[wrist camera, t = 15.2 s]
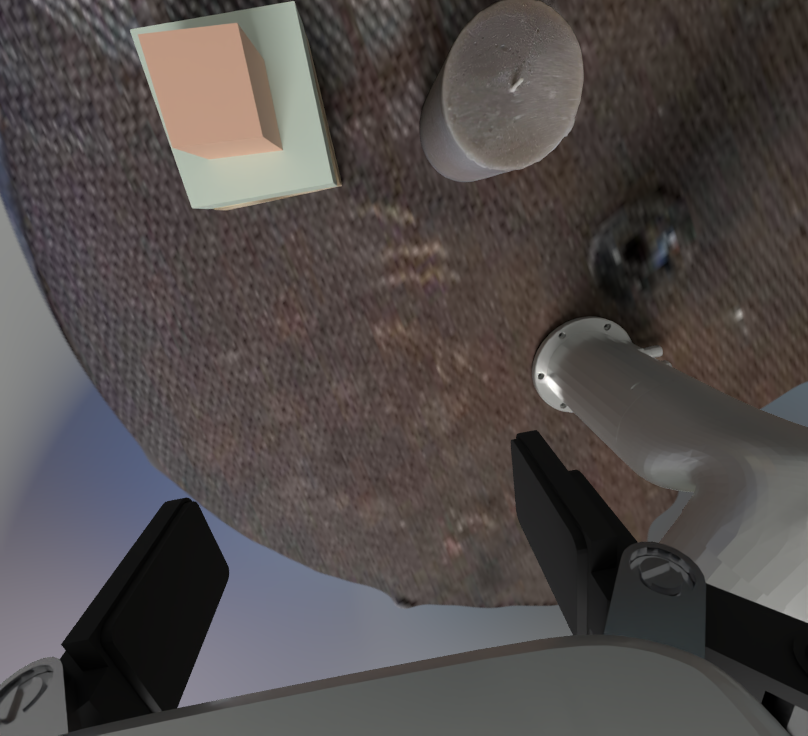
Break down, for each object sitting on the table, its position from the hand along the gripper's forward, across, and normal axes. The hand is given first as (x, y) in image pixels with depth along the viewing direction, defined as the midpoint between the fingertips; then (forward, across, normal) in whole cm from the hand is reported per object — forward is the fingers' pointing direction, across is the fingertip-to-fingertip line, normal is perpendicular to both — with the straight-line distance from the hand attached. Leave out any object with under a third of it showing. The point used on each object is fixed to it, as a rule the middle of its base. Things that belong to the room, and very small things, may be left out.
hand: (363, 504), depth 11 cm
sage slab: (+31, +7, -17) cm, 36 cm away
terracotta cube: (+27, +7, -17) cm, 33 cm away
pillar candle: (+34, -13, -14) cm, 39 cm away
